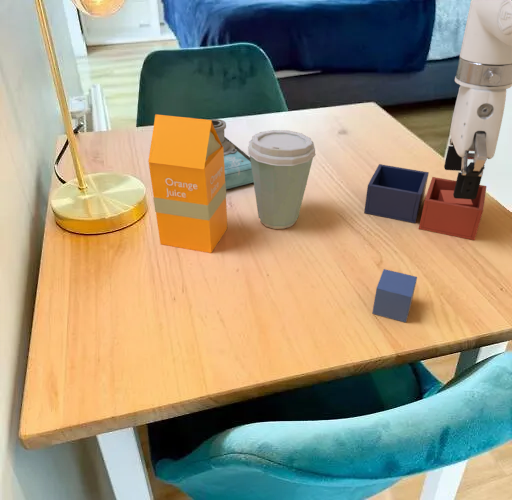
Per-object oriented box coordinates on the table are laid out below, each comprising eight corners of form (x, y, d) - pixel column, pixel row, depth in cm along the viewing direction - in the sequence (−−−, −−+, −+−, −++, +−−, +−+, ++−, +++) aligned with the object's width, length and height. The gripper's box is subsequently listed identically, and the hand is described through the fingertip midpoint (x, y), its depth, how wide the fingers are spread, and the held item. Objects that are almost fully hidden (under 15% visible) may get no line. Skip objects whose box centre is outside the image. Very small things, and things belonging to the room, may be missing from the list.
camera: (257, 137, 91) (206, 148, 88) (258, 184, 97) (210, 196, 93) (219, 109, 103) (173, 117, 100) (222, 152, 109) (178, 162, 105)
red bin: (478, 214, 87) (486, 185, 84) (474, 240, 81) (483, 210, 77) (426, 204, 90) (432, 176, 87) (418, 229, 83) (424, 199, 80)
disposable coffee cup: (257, 201, 92) (256, 121, 83) (316, 208, 89) (321, 127, 81) (241, 232, 83) (238, 147, 74) (305, 241, 81) (310, 154, 72)
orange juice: (179, 219, 87) (166, 105, 75) (228, 227, 84) (222, 110, 73) (159, 244, 80) (141, 124, 69) (211, 254, 78) (202, 131, 67)
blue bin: (423, 199, 91) (428, 172, 88) (415, 223, 85) (421, 194, 82) (375, 190, 94) (379, 163, 91) (364, 213, 88) (367, 185, 85)
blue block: (411, 302, 69) (417, 276, 66) (406, 322, 65) (411, 296, 63) (379, 293, 70) (383, 268, 68) (372, 313, 67) (376, 288, 64)
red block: (461, 213, 86) (467, 191, 84) (466, 227, 83) (473, 204, 80) (435, 212, 87) (440, 189, 84) (438, 225, 83) (444, 202, 81)
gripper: (531, 92, 62) (496, 212, 72) (499, 56, 76) (473, 161, 86) (468, 90, 63) (441, 208, 73) (447, 55, 77) (427, 159, 87)
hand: (458, 183), depth 80 cm, fingers open, 9 cm apart
